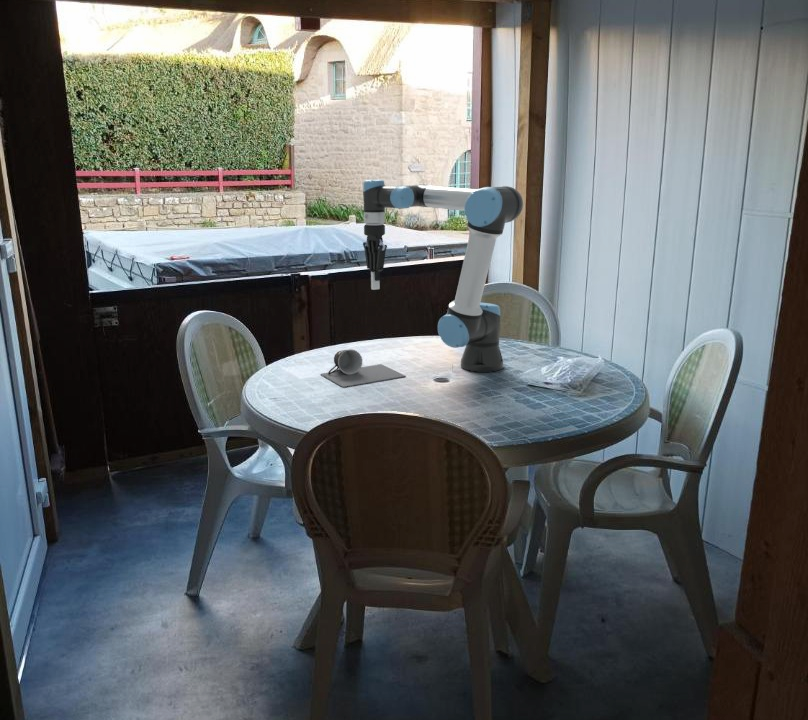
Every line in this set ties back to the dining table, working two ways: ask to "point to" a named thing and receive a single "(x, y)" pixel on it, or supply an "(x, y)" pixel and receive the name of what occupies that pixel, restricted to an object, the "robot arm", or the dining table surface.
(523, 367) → the dining table surface
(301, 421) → the dining table surface
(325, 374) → the mat
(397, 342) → the dining table surface
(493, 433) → the dining table surface
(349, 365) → the coffee mug
